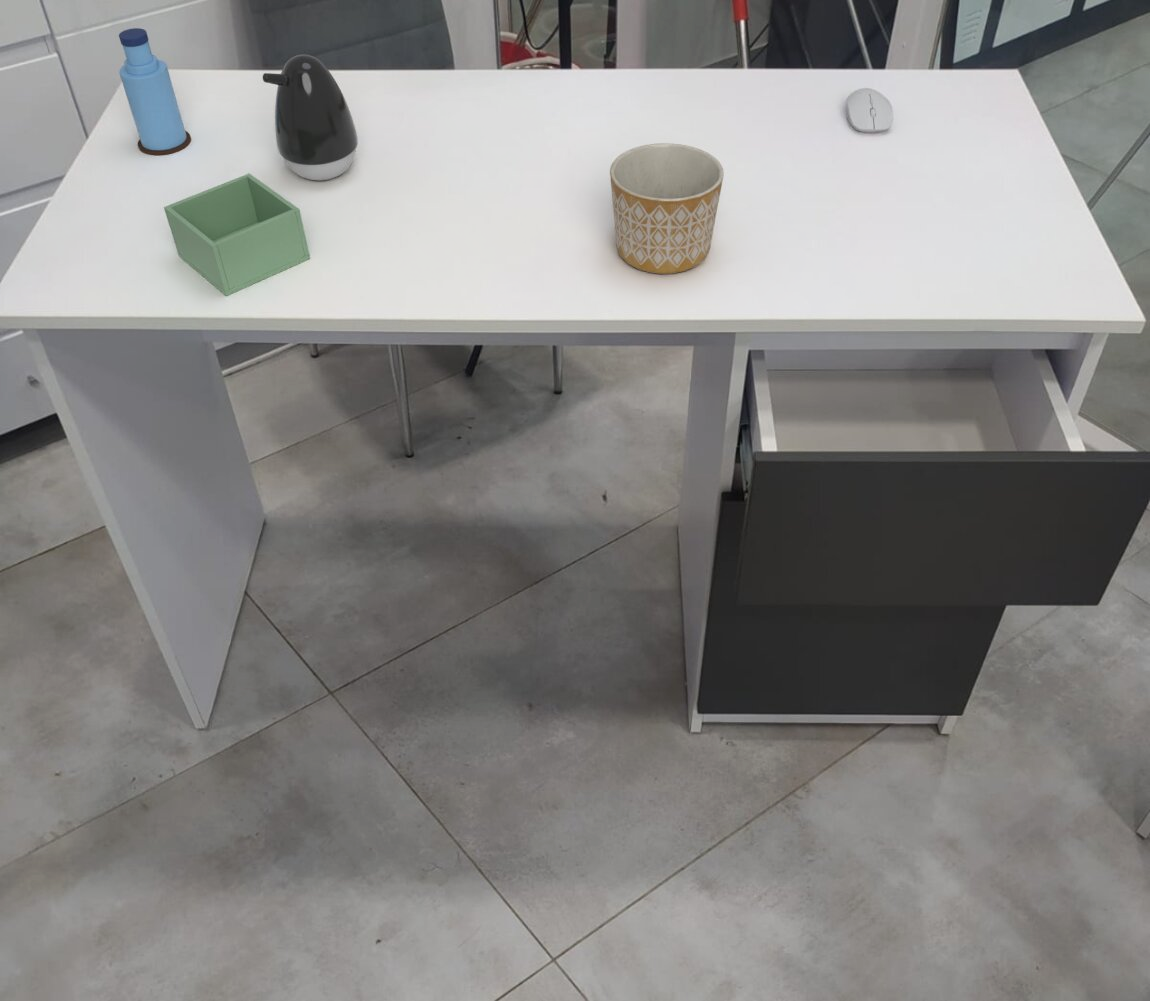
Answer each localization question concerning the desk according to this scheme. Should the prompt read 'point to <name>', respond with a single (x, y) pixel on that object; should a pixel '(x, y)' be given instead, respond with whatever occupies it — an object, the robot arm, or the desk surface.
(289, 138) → the pump dispenser
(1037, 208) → the desk surface
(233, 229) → the bin
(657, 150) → the planter
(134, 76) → the bottle
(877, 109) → the computer mouse
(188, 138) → the coaster
